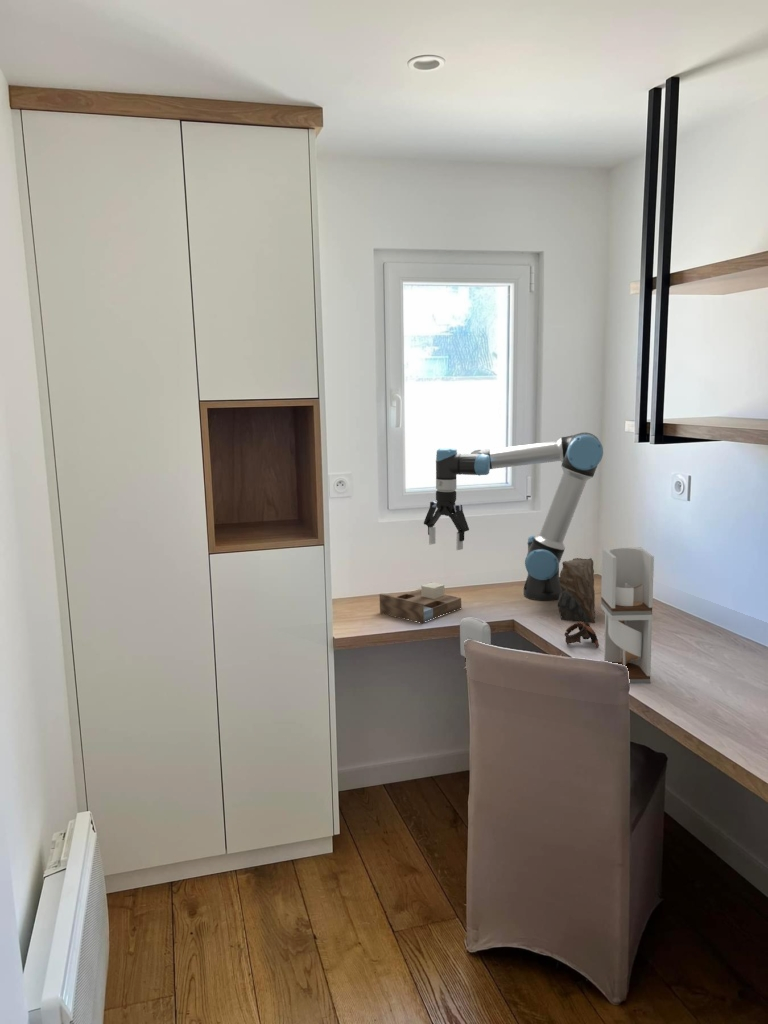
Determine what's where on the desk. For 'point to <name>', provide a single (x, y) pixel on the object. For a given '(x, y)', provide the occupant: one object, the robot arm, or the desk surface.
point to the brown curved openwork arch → (581, 633)
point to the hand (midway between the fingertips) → (445, 546)
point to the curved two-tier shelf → (628, 609)
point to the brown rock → (577, 591)
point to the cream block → (432, 590)
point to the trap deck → (418, 606)
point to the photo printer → (474, 632)
